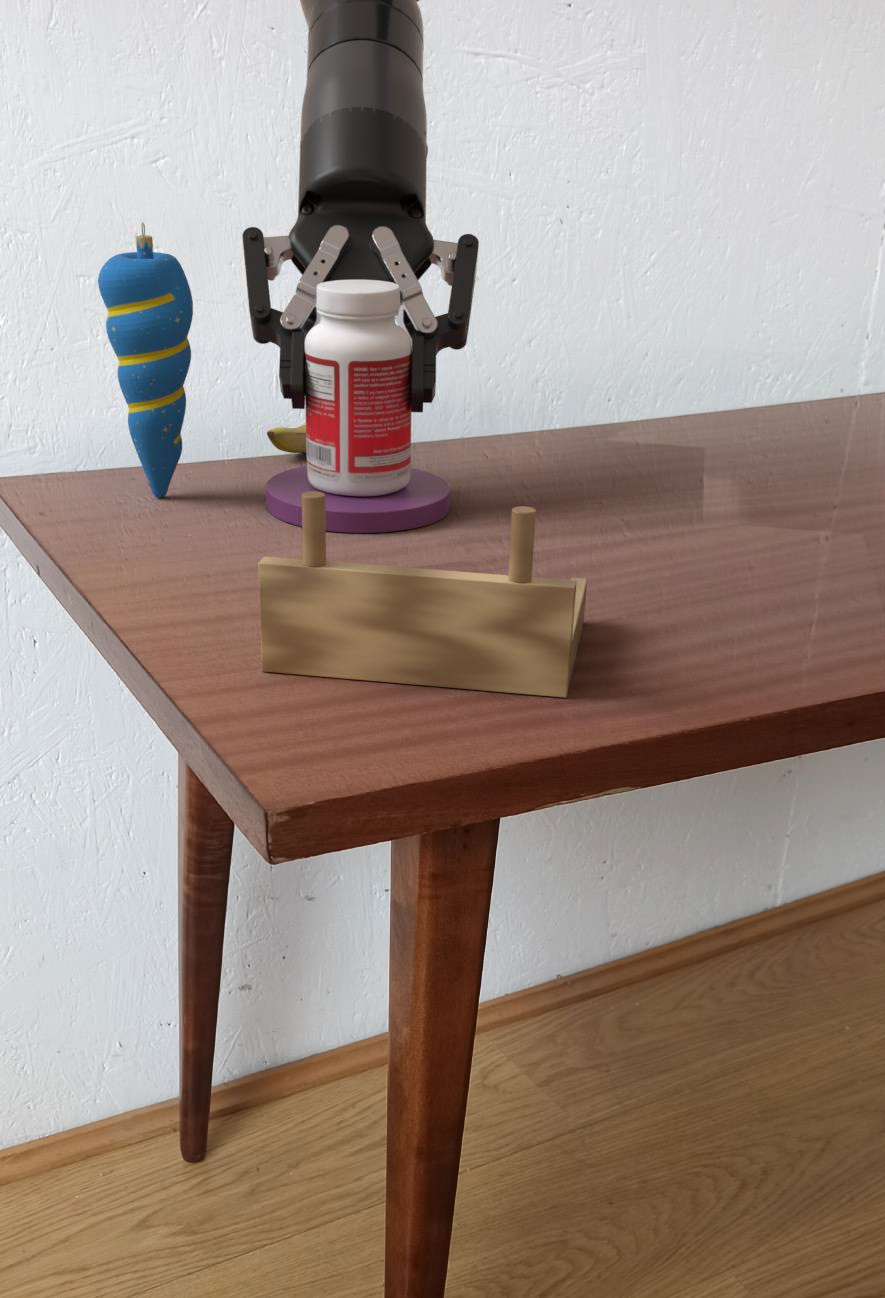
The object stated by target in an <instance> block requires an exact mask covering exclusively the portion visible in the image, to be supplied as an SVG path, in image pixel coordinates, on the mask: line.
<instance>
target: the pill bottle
mask: <svg viewBox="0 0 885 1298" xmlns="http://www.w3.org/2000/svg"><path fill="white" fill-rule="evenodd" d="M316 307H317V312H318V313H319V314H320V315H321V321H320V323H319V324H318V325H316V326H314V327H313V328H312V329H311V330H310V331H309V332H308V334H307V335H306V338H305V342H304V362H305V424H306V447H307V452H306V466H307V473H308V480H309V482H310V483H311V485H312V486H313V487H315V488H316V489H318V490H321V491H324V492H327V493H332V494H337V495H346V496H363V497H366V496H380V495H385V494H390V493H393V492H396V491H399V490H401V489H402V488H404V487H405V486H406V485H407V484H408V482H409V480H410V471H411V468H412V467H411V466H412V412H411V382H412V343H411V340H410V337H409V335H408V334H407V332H406V331H405V330H404V329H403V328H401V327H400V326H399V325H398V324H397V322H396V320H395V316H396V315H397V314H398V313H399V309H400V287H399V285H397V284H395V283H392V282H387V281H379V280H336V281H328V282H323V283H320V284H318V285H317V294H316Z"/></svg>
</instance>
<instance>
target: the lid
mask: <svg viewBox="0 0 885 1298" xmlns="http://www.w3.org/2000/svg"><path fill="white" fill-rule="evenodd" d="M309 491H317V492H322V493H324V494H325V521H326V532H331V533H332V532H334V533H346V534H379V533H391V532H401V531H409V530H413V529H418V528H422V527H426V526H429V525H431V524H434V523H436V522H438V521H440V520H442V519H444V518H446V516H447V515H448V514H449V512H450V509H451V487H450V485H449V483H448V482H447V481H446V480H445V479H444V478H442V477H440V476H438V475H436V474H434V473H431V472H428V471H425V470H421V469H417V468H413V467H411V471H410V480H409V482H408V484H407V485H406V486H405V487H404V488H402V489H401V490H399V491H396V492H393V493H390V494H385V495H380V496H366V497H363V496H346V495H337V494H332V493H327V492H324V491H321V490H318V489H316V488H315V487H313V486H312V485H311V483H310V482H309V480H308V473H307V465H304V466H299V467H298V466H297V467H294V468H290V469H287V470H284V471H281V472H279V473H277V474H275V475H273V476H272V477H270V478H269V479H268V480H267V481H266V483H265V506H266V510H267V511H268V512H269V514H271V516H273V517H275V518H277V519H278V520H280V521H282V522H285V523H288V524H291V525H293V526H298V527H301V528H302V493H304V492H309Z"/></svg>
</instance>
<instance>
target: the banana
mask: <svg viewBox="0 0 885 1298" xmlns="http://www.w3.org/2000/svg"><path fill="white" fill-rule="evenodd" d="M266 436H267V438H268V439H269V441H270V442H271V444H272V445H273V446H274V448H276V449H277V450H279V451H282V452H285V453H290V454H291V453H292V454H301V453H302V454H303V453H307V447H306V423H305V424H303V425H300V426H298V427H297V426H296V427H283V426H282V427H281V426H280V427H274V428H271V429H269V430H267V431H266Z"/></svg>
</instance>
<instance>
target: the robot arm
mask: <svg viewBox="0 0 885 1298" xmlns="http://www.w3.org/2000/svg"><path fill="white" fill-rule="evenodd" d="M299 2H300V6H301V11H302V13H303V17H304V20H305V23H306V27H307V30H308V31H307V32H308V33H307V53H306V54H307V56H306V83H305V89H304V95H303V98H302V106H301V114H300V141H299V170H298V171H299V173H298V174H299V175H298V201H297V202H298V204H297V207H298V208H297V219H296V221H295V224H294V225H293V226H292V228H291V229H290V231H289V233H288V235H277V236H264V233H263V231H262V230H261V229H260V228H259V227H256V226H250V227H247V228H246V229H244V230H243V232H242V247H243V258H244V269H245V279H246V288H247V289H246V291H247V300H248V311H249V318H250V325H251V330H252V331H251V333H252V338H253V340H254V341H255V342H256V343H258V344H261V345H266V344H269V343H272V344H274V345H276V346H277V347H279V365H278V366H279V369H278V378H279V379H278V380H279V388H280V392H281V396H282V397H283V399H285V400H291V407H292V409H293V410H306V404H305V362H304V342H305V338H306V335H307V334H308V332H309V331H310V330H311V329H312V328H313V327H314V326H316V325H318V324H319V323H320V321H321V315H320V314H319V313H318V312H317V307H316V294H317V285H318V284H320V283H323V282H328V281H336V280H379V281H387V282H392V283H395V284H397V285H399V287H400V309H399V313H398V314H397V315H396V316H395V322H396V324H397V325H398V326H400V327H401V328H403V329H404V330H405V331H406V332H407V334H408V335H409V337H410V340H411V343H412V382H411V413H424V404H432V403H433V401H434V399H435V397H436V387H437V355H438V353H439V352H440V351H442V350H444V349H446V348H447V349H448V348H450V349H452V350H462V349H463V348H465V347H466V345H467V344H468V343H467V342H468V337H469V336H468V335H469V328H470V321H471V313H472V307H473V299H474V292H475V284H476V276H477V270H478V256H479V247H480V246H479V245H480V241H479V239H478V237H477V236H476V235H474V234H471V233H464V234H462V235H461V236H460V237H459V238H458V241H457V242H454V241H445V240H438V239H434V237H433V234H432V233H431V231H430V229H429V228H428V225H427V159H428V153H429V147H428V142H427V140H428V139H427V137H428V131H427V130H428V127H427V126H428V119H427V117H428V116H427V115H428V113H427V106H426V100H425V94H424V51H425V37H424V36H425V35H424V34H425V29H424V20H423V15H422V12H421V8H420V6H419V4H418V3H419V2H421V0H299ZM289 260H290V261H291V262H292V264H293V266H294V267H295V268H296V269H297V270H298V272H299V273H300V274H301V277H300V278H299V280H298V283H297V286H296V288H295V293H294V294H293V296H292V298H291V300H290V301H289V303H288V304H287V306H286V308H284V311H282V310H281V311H280V310H278V309H276V308H274V307H273V308H272V306H271V294H270V285H269V284H270V283H269V281H271V282H273V281H274V280H276V277H278V276H279V275H280V273H281V270H282V266H283V264H284V263H285V262H286V261H289ZM432 264H433V265H435V266H436V267H438V268H439V269H440V273H441V275H440V276H441V278H442V280H443V281H444V282H445V283H446V284H447V286H450V288H451V289H450V296H449V303H448V310H447V312H446V313H443V314H439V315H436V316H435V314H434V313H433V310H432V309H431V307H430V306H429V303H428V302H427V300H426V298H425V296H424V292H423V288H422V285H421V284H420V282H419V280H420V279H421V278H422V277H423V276H424V274H425V273H426V272H427V271H428V270H429V269H430V267H431V266H432Z"/></svg>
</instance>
